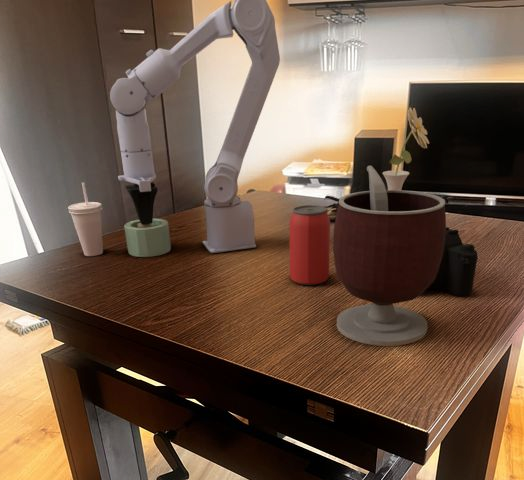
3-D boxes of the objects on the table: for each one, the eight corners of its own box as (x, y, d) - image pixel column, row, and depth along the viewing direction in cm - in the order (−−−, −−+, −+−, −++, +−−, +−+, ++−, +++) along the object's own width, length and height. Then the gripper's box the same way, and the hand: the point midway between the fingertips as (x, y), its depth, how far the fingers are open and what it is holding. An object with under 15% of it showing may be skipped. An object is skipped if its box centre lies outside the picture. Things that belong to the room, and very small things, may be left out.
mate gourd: (451, 343, 68) (475, 182, 59) (347, 353, 67) (355, 190, 57) (404, 298, 82) (418, 162, 72) (317, 306, 80) (319, 168, 71)
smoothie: (100, 258, 105) (87, 185, 98) (71, 257, 106) (56, 185, 100) (115, 249, 110) (103, 179, 104) (86, 248, 112) (73, 179, 105)
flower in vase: (396, 255, 100) (409, 111, 89) (350, 244, 108) (356, 109, 96) (435, 241, 108) (451, 106, 96) (389, 231, 116) (399, 105, 104)
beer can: (302, 289, 87) (303, 215, 81) (282, 277, 92) (281, 207, 86) (336, 281, 89) (338, 209, 84) (315, 270, 94) (316, 202, 89)
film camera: (372, 276, 91) (376, 224, 87) (418, 267, 94) (423, 216, 90) (431, 307, 79) (439, 247, 74) (481, 295, 82) (491, 238, 78)
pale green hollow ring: (167, 242, 113) (164, 216, 111) (174, 253, 106) (171, 226, 104) (126, 247, 111) (122, 221, 109) (130, 259, 104) (126, 231, 101)
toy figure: (306, 229, 120) (365, 218, 124) (303, 200, 118) (364, 190, 122) (294, 225, 127) (351, 215, 130) (292, 198, 124) (349, 189, 128)
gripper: (111, 147, 105) (121, 216, 111) (118, 156, 92) (129, 233, 99) (147, 145, 107) (155, 213, 113) (158, 153, 94) (167, 229, 101)
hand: (145, 222), depth 106 cm, fingers closed
